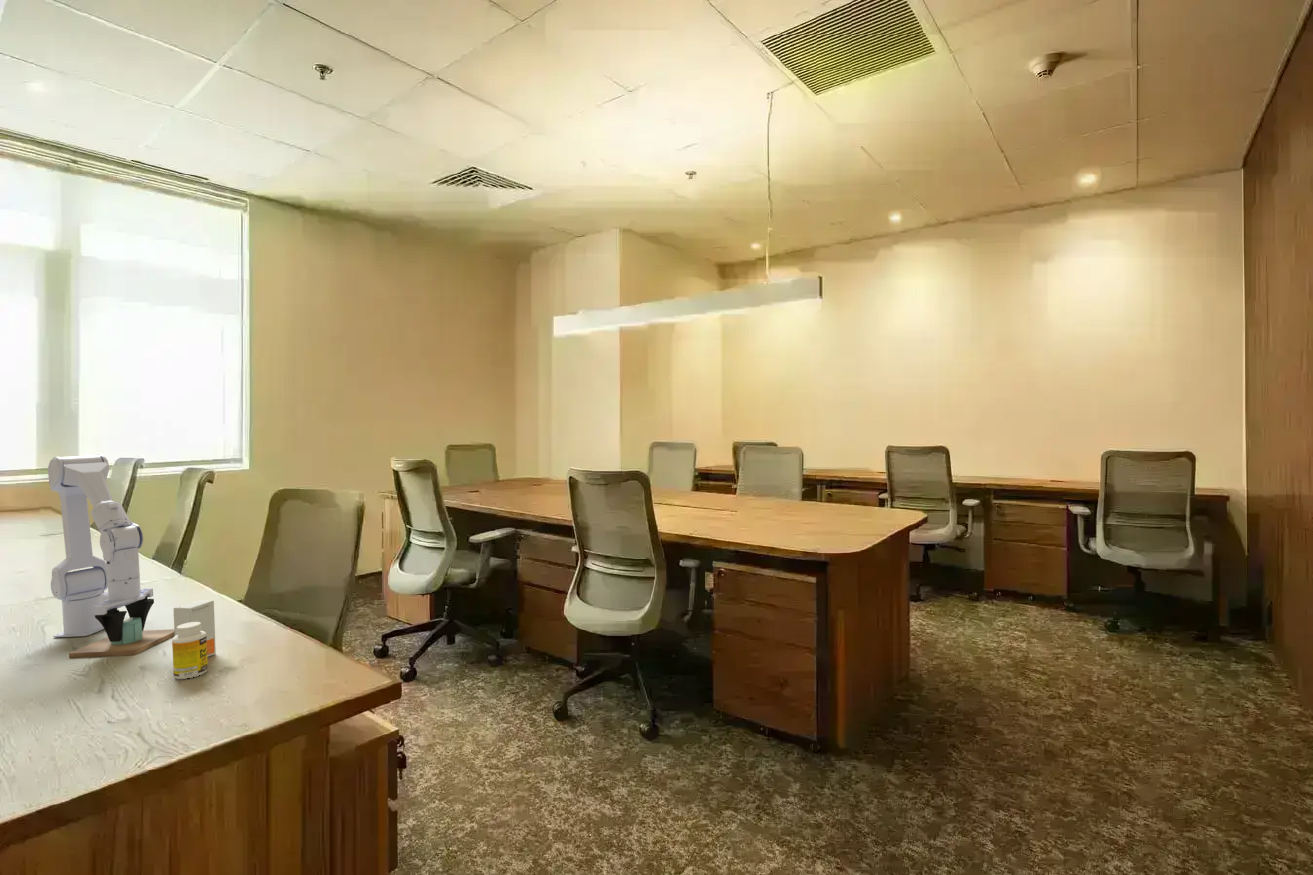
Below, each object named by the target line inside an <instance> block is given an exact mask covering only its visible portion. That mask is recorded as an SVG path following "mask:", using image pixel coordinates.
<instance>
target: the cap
mask: <svg viewBox="0 0 1313 875" xmlns="http://www.w3.org/2000/svg"><path fill="white" fill-rule="evenodd" d="M142 638H143V636H142V621H141V618H140V617H131V618H130V617H125V618H124V621H123V630H122V640H121V641H118V642H111V644H112V645H122V644H127V643H132V642H136V641H138V640H140V639H142Z"/></svg>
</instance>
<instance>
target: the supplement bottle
mask: <svg viewBox="0 0 1313 875" xmlns="http://www.w3.org/2000/svg"><path fill="white" fill-rule="evenodd" d="M201 628H202V627H201V623H200V622H190V623H185V624H181V625H179V626H177V635H176V636H173V637H172V639H171V643H172V647H171V648H172V665H173V668H172V669H173V676H174V678H175V680H188V679H187V678H190V679H193V677H194V678H196V677H200V676H202V675H204V674H206V672H207V671H208V669H209V668H208V667H209V666H208V665H209V664H208V662H209V661H208V657H207V638H206V632H204V631H201ZM199 675H200V676H199Z"/></svg>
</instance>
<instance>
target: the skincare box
mask: <svg viewBox="0 0 1313 875" xmlns="http://www.w3.org/2000/svg"><path fill="white" fill-rule="evenodd" d="M190 622H200V623H201V627H202V628H201V631H204V632H206V638H207V658H208V657H211V656H215V655H216V653H217V652H216V650H217V648H216V628H215V627H216V625H215V623H216V622H215V601H214V600H207V599H205V600H204V599H199V600H195V601H191V602H187V603H185V604H183V605H179V606H176V607H174V608H173V625H174V628H173V629H174V633H175V636H176V635H177V626H179V625H181V624H185V623H190ZM175 636H174V637H175ZM214 654H215V655H214Z"/></svg>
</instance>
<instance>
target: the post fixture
mask: <svg viewBox="0 0 1313 875" xmlns="http://www.w3.org/2000/svg"><path fill="white" fill-rule="evenodd" d="M142 636H143V638H142V639H140V640H138V641H136V642H132V643H127V644H122V645H112V644H111V642H110V641H109V638H108V636H106V637H103V638H101V639H99V640H97V641H95V642H92V643H90V644H88V645H85V646H83V647H81V648H77V649H76V650H73V651H71V652H68V658H69V659H72V658H73V659H74V658H92V657H115V656H119V657H120V656H136V655H139V653H141V652H143V651H146V650H147V649H149V648H152V647H153V646H156V645H158V644H160V642H161V643H162V641H163V642H164V640H165V641H166V639H167V640H169V639H171V638H174V637H175V633H174V628H173V629H146V630H145V629H144V630H143V631H142Z"/></svg>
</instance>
